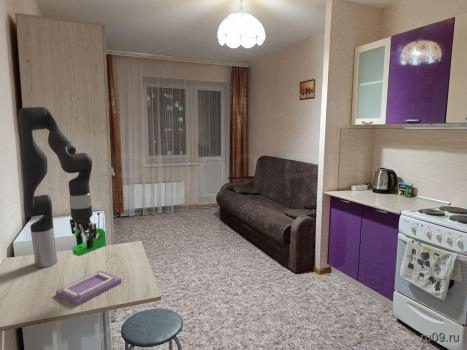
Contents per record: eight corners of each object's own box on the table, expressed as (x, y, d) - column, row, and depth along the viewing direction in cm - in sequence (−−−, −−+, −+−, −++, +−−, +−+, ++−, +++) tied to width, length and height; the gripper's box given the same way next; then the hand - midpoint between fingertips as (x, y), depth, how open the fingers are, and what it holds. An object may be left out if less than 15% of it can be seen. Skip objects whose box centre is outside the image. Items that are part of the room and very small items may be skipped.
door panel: (56, 294, 128) (55, 287, 127) (100, 274, 144) (100, 267, 144) (77, 305, 120) (76, 298, 120) (121, 282, 137) (121, 275, 136)
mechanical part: (97, 242, 135) (95, 224, 134) (106, 245, 132) (104, 226, 131) (69, 252, 126) (67, 233, 124) (78, 256, 122) (76, 236, 121)
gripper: (60, 205, 125) (65, 246, 128) (83, 210, 118) (87, 254, 121) (79, 200, 131) (82, 239, 134) (101, 205, 124) (104, 247, 127)
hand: (84, 246), depth 128 cm, fingers closed on mechanical part, 6 cm apart
